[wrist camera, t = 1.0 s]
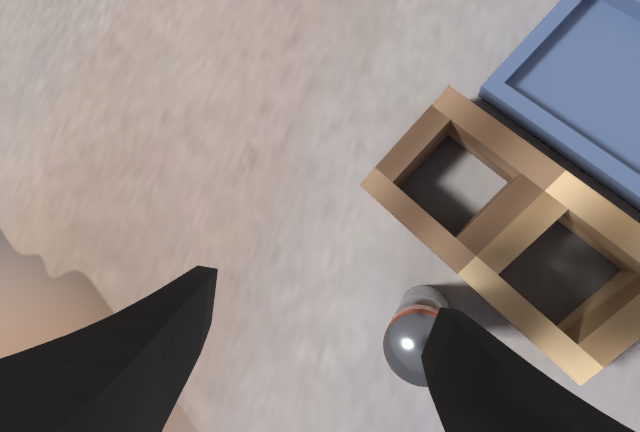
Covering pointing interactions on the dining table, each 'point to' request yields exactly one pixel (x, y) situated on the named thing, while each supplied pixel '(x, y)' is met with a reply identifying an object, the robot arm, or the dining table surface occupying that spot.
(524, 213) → the light wood square frame
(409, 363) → the grey orange cylinder
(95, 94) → the dining table surface
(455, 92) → the square wooden frame
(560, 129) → the tray
